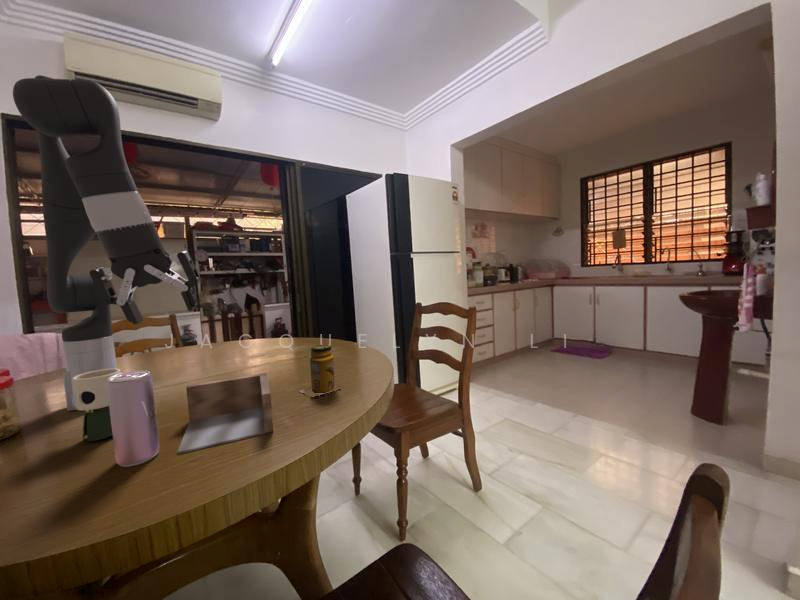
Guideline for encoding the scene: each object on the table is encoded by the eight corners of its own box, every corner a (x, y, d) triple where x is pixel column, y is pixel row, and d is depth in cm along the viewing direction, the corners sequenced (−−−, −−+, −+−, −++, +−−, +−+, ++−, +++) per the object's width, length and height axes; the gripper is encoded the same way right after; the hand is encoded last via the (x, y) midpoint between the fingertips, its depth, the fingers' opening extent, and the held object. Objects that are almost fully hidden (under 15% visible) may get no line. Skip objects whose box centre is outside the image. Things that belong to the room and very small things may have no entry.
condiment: (341, 389, 86) (338, 345, 85) (312, 399, 80) (309, 352, 79) (326, 383, 91) (324, 342, 90) (299, 392, 85) (296, 348, 84)
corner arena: (177, 454, 57) (172, 411, 56) (190, 420, 71) (187, 385, 70) (273, 431, 64) (270, 393, 63) (268, 405, 77) (266, 372, 77)
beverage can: (133, 450, 59) (124, 371, 58) (167, 447, 60) (159, 368, 58) (106, 470, 53) (95, 382, 52) (144, 466, 54) (134, 379, 52)
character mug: (64, 441, 63) (56, 377, 62) (106, 424, 70) (99, 366, 69) (102, 448, 60) (93, 381, 59) (142, 430, 67) (135, 369, 66)
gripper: (180, 215, 57) (213, 299, 62) (84, 231, 53) (128, 320, 58) (166, 217, 50) (205, 312, 55) (55, 236, 46) (109, 335, 52)
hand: (166, 316), depth 57 cm, fingers open, 8 cm apart
